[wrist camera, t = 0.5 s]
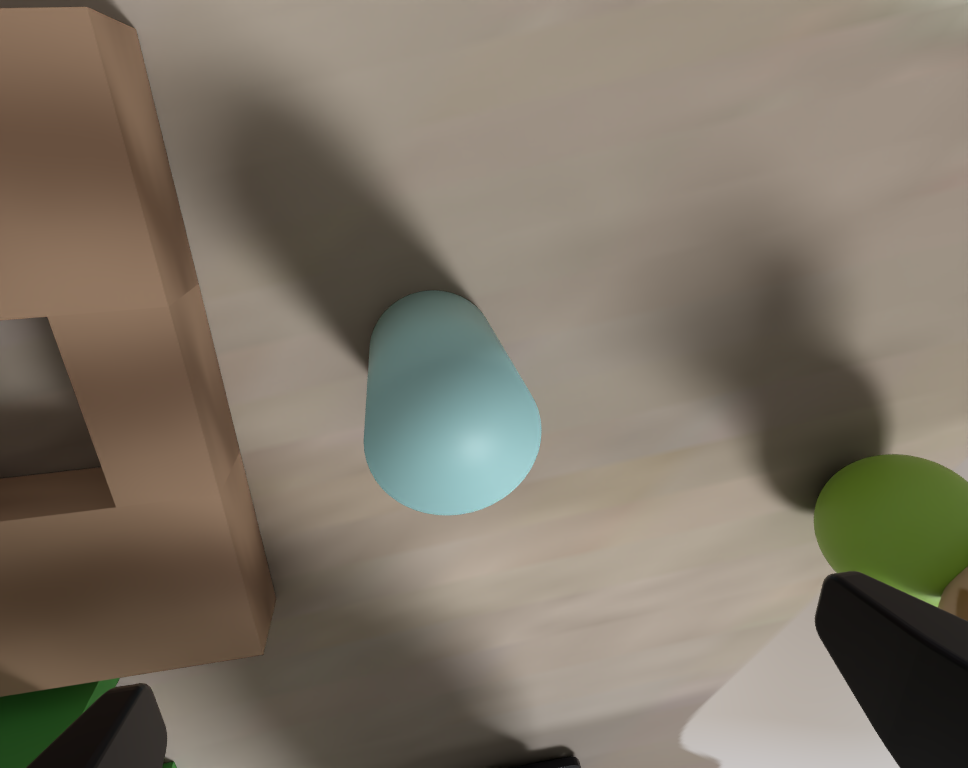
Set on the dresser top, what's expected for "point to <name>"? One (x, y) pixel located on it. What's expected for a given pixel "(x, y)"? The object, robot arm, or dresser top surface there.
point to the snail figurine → (899, 527)
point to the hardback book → (43, 719)
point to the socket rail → (114, 381)
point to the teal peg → (445, 408)
